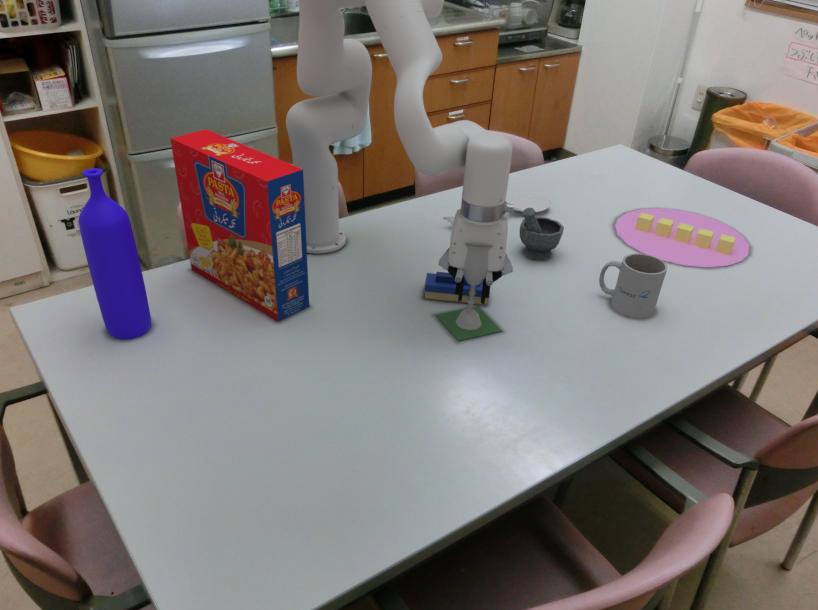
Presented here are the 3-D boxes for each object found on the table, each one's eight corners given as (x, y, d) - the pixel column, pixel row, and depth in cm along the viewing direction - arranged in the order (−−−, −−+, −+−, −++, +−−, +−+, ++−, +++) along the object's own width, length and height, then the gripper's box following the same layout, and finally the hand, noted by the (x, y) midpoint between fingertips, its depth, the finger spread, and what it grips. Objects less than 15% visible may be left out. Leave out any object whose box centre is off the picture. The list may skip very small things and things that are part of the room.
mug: (661, 308, 142) (675, 265, 135) (639, 323, 137) (653, 279, 131) (610, 284, 148) (621, 242, 142) (588, 298, 143) (598, 255, 137)
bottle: (162, 321, 129) (131, 166, 111) (134, 345, 123) (96, 184, 105) (125, 312, 131) (88, 158, 113) (96, 334, 125) (52, 175, 107)
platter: (734, 281, 152) (739, 268, 150) (596, 241, 165) (599, 228, 163) (760, 231, 174) (765, 218, 172) (637, 198, 187) (640, 187, 185)
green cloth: (458, 341, 129) (458, 340, 129) (435, 315, 135) (436, 314, 135) (501, 331, 132) (501, 330, 132) (478, 306, 139) (478, 306, 139)
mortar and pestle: (538, 240, 164) (547, 192, 157) (566, 256, 158) (577, 207, 151) (503, 251, 159) (510, 202, 151) (530, 268, 153) (539, 218, 145)
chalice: (448, 312, 136) (457, 229, 125) (482, 312, 137) (493, 229, 126) (453, 333, 130) (463, 247, 119) (489, 333, 131) (501, 247, 120)
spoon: (440, 227, 167) (442, 214, 165) (531, 199, 183) (533, 186, 181) (465, 241, 162) (467, 228, 159) (556, 211, 178) (559, 198, 176)
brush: (423, 299, 140) (425, 278, 137) (426, 286, 144) (427, 266, 141) (487, 305, 139) (490, 285, 136) (487, 293, 143) (490, 272, 140)
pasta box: (191, 270, 145) (170, 138, 128) (222, 257, 150) (206, 129, 133) (278, 322, 131) (266, 181, 114) (309, 306, 136) (303, 169, 119)
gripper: (529, 204, 122) (515, 293, 133) (436, 195, 123) (429, 284, 134) (531, 222, 116) (515, 314, 127) (433, 212, 117) (426, 304, 128)
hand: (471, 298), depth 130 cm, fingers closed on chalice, 3 cm apart
